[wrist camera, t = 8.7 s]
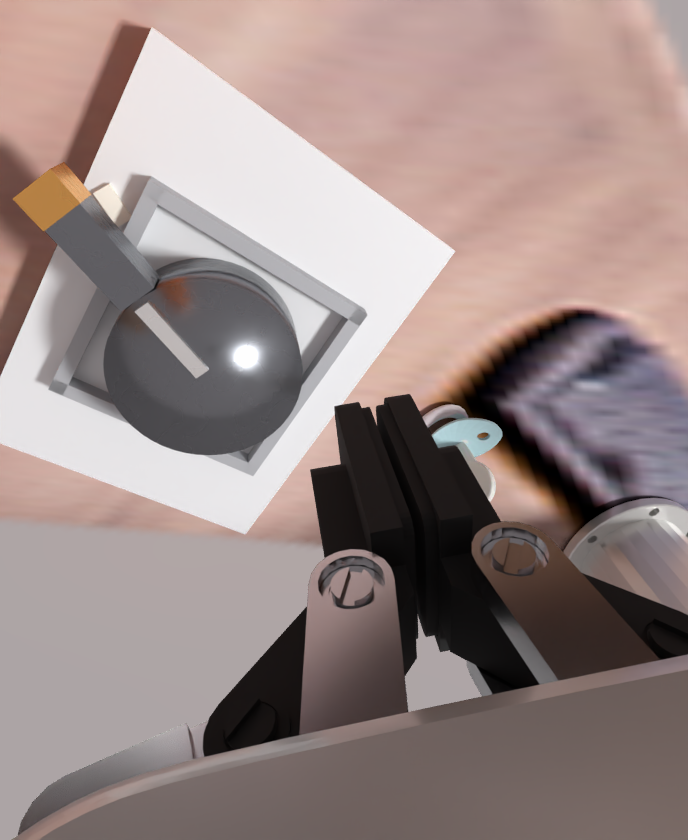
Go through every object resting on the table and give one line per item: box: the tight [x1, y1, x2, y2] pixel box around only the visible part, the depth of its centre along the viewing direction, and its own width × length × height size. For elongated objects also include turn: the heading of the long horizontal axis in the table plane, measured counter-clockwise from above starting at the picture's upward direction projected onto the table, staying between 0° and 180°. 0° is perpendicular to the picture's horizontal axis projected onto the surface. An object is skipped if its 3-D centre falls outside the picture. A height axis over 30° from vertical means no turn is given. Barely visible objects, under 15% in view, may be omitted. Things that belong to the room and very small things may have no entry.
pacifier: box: [422, 404, 502, 502], centre depth 38 cm, size 7×6×6 cm
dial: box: [13, 162, 303, 455], centre depth 29 cm, size 16×10×4 cm, turn 32°
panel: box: [0, 28, 455, 534], centre depth 32 cm, size 18×24×3 cm
